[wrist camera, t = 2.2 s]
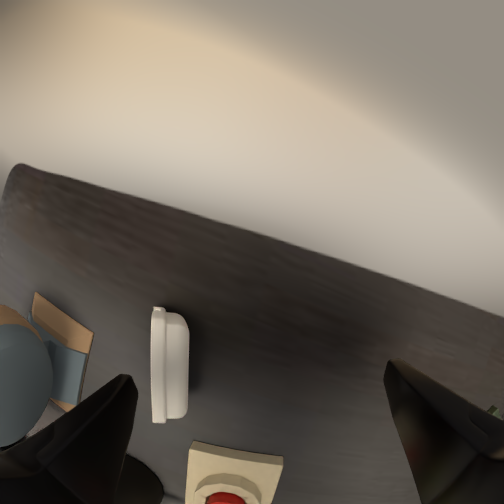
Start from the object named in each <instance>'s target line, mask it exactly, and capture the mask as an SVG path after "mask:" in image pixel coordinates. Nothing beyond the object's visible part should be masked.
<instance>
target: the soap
mask: <svg viewBox="0 0 504 504" xmlns="http://www.w3.org/2000/svg"><path fill="white" fill-rule="evenodd" d="M153 308H154V312H152V318H151V397H152V416H153V423H165V422H166V419H179V418H182V417H183V416H184V415H185V414H186V413H187V410H188V370H189V329H188V326H187V323H186V321H185V320H184V318H183V317H182V316H181V315H179V314H177V313H169V312H166V310H165V308H163V307H153Z"/></svg>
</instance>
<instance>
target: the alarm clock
mask: <svg viewBox="0 0 504 504" xmlns="http://www.w3.org/2000/svg"><path fill="white" fill-rule="evenodd" d="M93 335H94V333H93V332H92V331H90V330H88V329H87V328H85V327H84V326H82V325H81V324H80V323H78V322H77V321H75V320H74V319H72V318H71V317H69V316H68V315H67V314H65V313H64V312H62V311H61V310H60V309H58V308H57V307H55V306H54V305H53V304H51V303H50V302H49V301H48V300H46V299H45V298H44V297H42V296H41V295H40V294H38V293H37V292H35V296H34V300H33V306H32V311H30V312H29V318H28V321H27V320H26V319H24V318H23V317H22V316H21V315H20V314H19V313H18V312H17V311H15V310H13V309H11V308H9V307H7V306H5V305H0V447H3V446H8V445H10V444H12V443H15V442H17V441H18V440H19V439H21V438H22V437H24V436H25V435H26V434H27V433H28V432H29V431H30V430H31V429H32V428H33V427H34V425H35V424H36V423H37V421H38V420H39V418H40V417H41V415H42V413H43V411H44V409H45V408H46V405H47V403H48V400H49V398H50V399H51V400H52V401H53V402H55V403H56V404H57V405H58V406H59V407H61V408H62V409H63V410H65V411H66V412H68V411H70V410H71V409H72V408H74V407H75V406H76V405H78V404H79V403H80V397H81V391H82V386H83V380H84V375H85V370H86V366H87V361H88V356H89V352H90V348H91V343H92V339H93Z"/></svg>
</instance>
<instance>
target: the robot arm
mask: <svg viewBox="0 0 504 504" xmlns="http://www.w3.org/2000/svg"><path fill="white" fill-rule="evenodd" d="M384 385H385V389H386V393H387V397H388V401H389V405H390V409H391V413H392V417H393V420H394V423H395V425H396V428H397V431H398V433H399V436H400V439H401V442H402V445H403V447H404V450H405V453H406V456H407V459H408V462H409V465H410V468H411V471H412V474H413V477H414V480H415V483H416V487H417V490H418V493H419V496H420V500H421V503H422V504H504V420H503V419H501V418H498V417H496V416H494V415H492V414H490V413H488V412H486V411H485V410H483V409H481V408H479V407H478V406H476V405H474V404H473V403H471V402H469V401H468V400H466V399H464V398H463V397H461V396H460V395H458V394H456V393H455V392H453V391H451V390H450V389H448V388H447V387H445V386H443V385H442V384H440V383H438V382H437V381H435V380H434V379H432V378H430V377H429V376H427V375H426V374H424V373H422V372H421V371H419V370H418V369H416V368H414V367H413V366H411V365H410V364H408V363H406V362H405V361H403V360H402V359H400V358H396V359H391V360H389V361H388V362H387V366H386V370H385V373H384ZM137 400H138V390H137V388H136V385H135V383H134V381H133V379H132V377H131V376H130V375H127V374H119V375H118V376H116V377H115V378H114V379H112V380H111V381H110V382H108V383H107V384H105V385H104V386H103V387H101V388H100V389H99V390H97V391H96V392H94V393H93V394H92V395H90V396H89V397H88V398H86V399H85V400H83V401H82V402H81V403H79V404H78V405H76V406H75V407H74V408H72V409H71V410H70V411H68V412H67V413H65V414H64V415H62V416H61V417H60V418H58V419H57V420H55V422H53V423H51V424H50V425H48V426H47V427H45V428H44V429H42V430H41V431H39V432H38V433H36V434H34V435H33V436H31V437H29V438H28V439H26V440H24V441H22V442H20V443H19V444H17V445H15V446H13V447H11V448H9V449H7V450H5V451H2V452H0V504H113V502H114V498H115V494H116V490H117V485H118V481H119V477H120V474H121V470H122V466H123V462H124V458H125V455H126V451H127V447H128V444H129V440H130V437H131V433H132V429H133V424H134V417H135V412H136V406H137Z"/></svg>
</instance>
